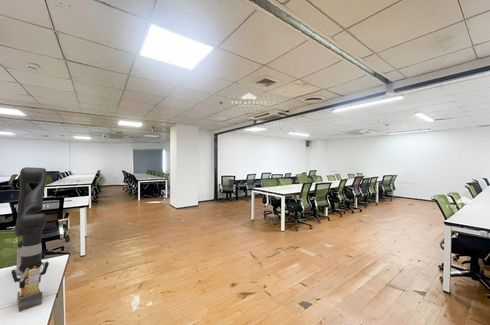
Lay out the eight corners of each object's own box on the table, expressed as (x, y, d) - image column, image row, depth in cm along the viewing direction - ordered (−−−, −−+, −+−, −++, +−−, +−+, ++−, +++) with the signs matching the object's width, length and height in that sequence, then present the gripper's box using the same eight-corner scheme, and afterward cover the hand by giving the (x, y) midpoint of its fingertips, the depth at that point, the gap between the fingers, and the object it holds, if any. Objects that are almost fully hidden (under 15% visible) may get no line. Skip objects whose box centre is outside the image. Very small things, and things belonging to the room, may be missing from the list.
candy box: (20, 297, 108) (21, 267, 108) (31, 292, 111) (32, 264, 112) (28, 302, 104) (29, 271, 104) (39, 297, 108) (40, 267, 108)
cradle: (17, 298, 110) (17, 287, 110) (38, 292, 116) (38, 281, 116) (19, 311, 100) (19, 299, 100) (41, 304, 106) (42, 292, 106)
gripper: (49, 247, 116) (47, 278, 116) (10, 255, 105) (8, 289, 105) (51, 250, 111) (49, 283, 111) (11, 259, 100) (9, 295, 100)
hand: (29, 285), depth 108 cm, fingers closed on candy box, 5 cm apart
